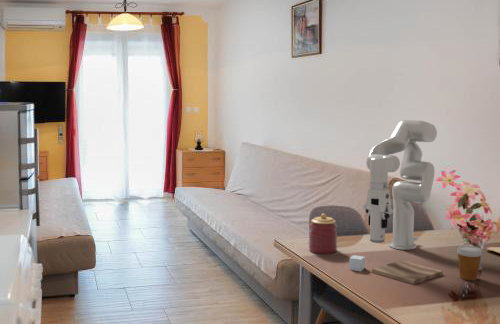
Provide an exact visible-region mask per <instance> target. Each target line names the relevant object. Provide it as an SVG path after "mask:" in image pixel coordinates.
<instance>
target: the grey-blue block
mask: <svg viewBox="0 0 500 324" xmlns="http://www.w3.org/2000/svg"><path fill="white" fill-rule="evenodd" d="M348 263H349V265H348V267H349V269H348V270H350V271H357V272H362V271H363V270H365V269H364V268H366V256H362V255H351V256H350V257H349V262H348Z"/></svg>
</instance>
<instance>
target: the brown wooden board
mask: <svg viewBox="0 0 500 324" xmlns="http://www.w3.org/2000/svg"><path fill="white" fill-rule="evenodd" d="M371 273H374V274H376V275H380V276H383V277H387V278H390V279H393V280H397V281H399V282H404V283H407V284H410V285H417V284H419V283H423V282H424V281H425V282H426V281H428V280H431V279H433V278H436V277H440V276H442V275H443V274H444V273H443V270H440V269H437V268H434V267H428V266H426V265H422V264H418V263H414V262H410V261H406V260H403V259H401V260H397V261H395V262H391V263H388V264H383V265H380V266H377V267H372V268H371Z"/></svg>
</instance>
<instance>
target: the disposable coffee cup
mask: <svg viewBox="0 0 500 324" xmlns="http://www.w3.org/2000/svg"><path fill="white" fill-rule="evenodd" d="M456 252H457V255H458V256H457V257H458V271H459V278H460V279H462V280H465V281H476V280H477V279H478V274H479V273H478V272H479V268H480V263H481V258H482V255H483V251H482V249H481V248H480V247H477V246H473V247H472V246H471V245H461V246H458V248H457V250H456Z"/></svg>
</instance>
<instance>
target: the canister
mask: <svg viewBox="0 0 500 324" xmlns="http://www.w3.org/2000/svg"><path fill="white" fill-rule="evenodd" d="M308 226H309V228H310V231H309V232H308V233H309V242H308V243H309V244H308V248H309V252H311V253H313V254H318V255H319V254H321V255H326V254H327V255H328V254H329V255H330V254H334V253H336V252H337V249H338V245H337V244H338V243H337V242H338V232H337V228H338V225H337V224H336V220H335V219H334V218H333V217H329V216H327V214H326V213H321V215H320V216H315V217H314V218H312V219H311V223H310V224H309V225H308Z"/></svg>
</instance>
